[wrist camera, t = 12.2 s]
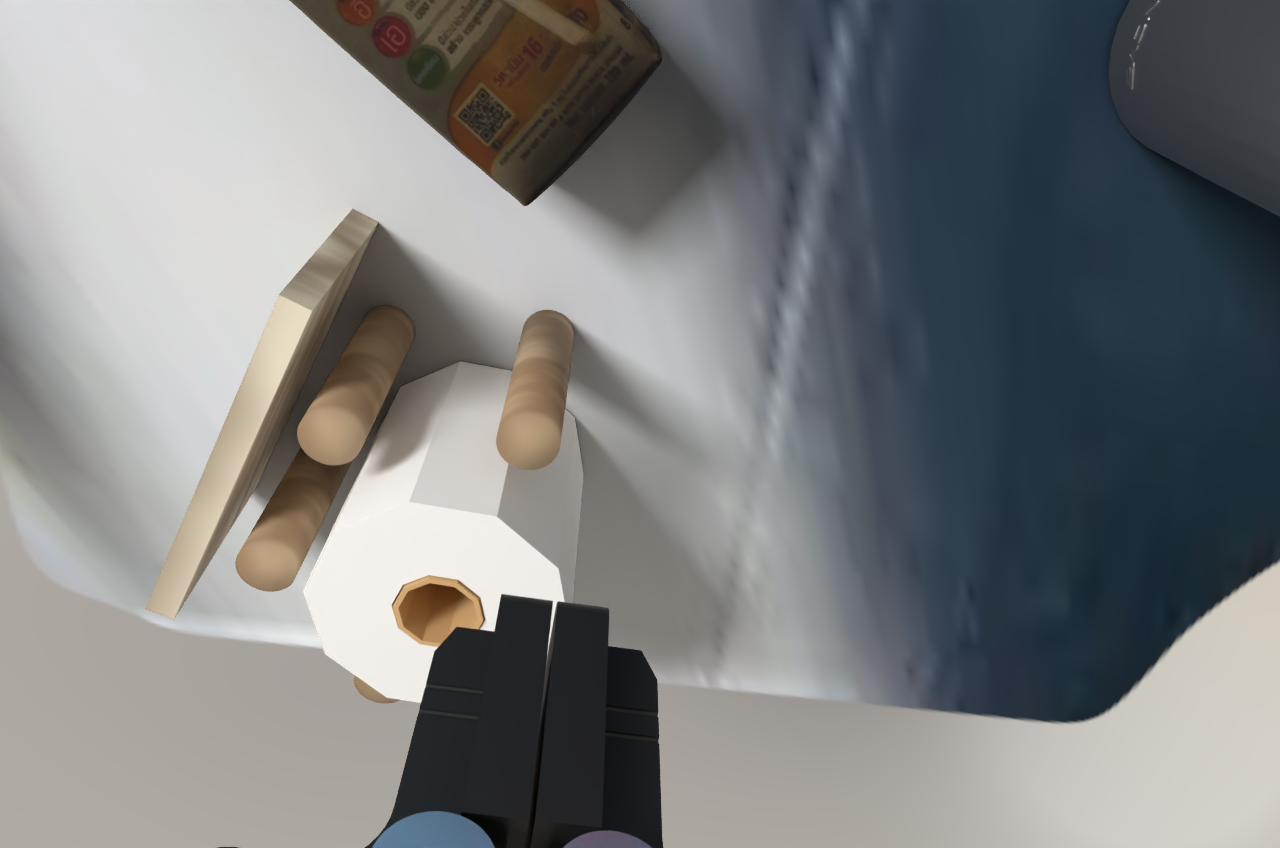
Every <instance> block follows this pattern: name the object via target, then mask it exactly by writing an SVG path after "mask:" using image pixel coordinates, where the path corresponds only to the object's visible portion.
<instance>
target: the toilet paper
mask: <svg viewBox="0 0 1280 848" xmlns="http://www.w3.org/2000/svg"><path fill="white" fill-rule="evenodd" d="M511 375H512V371H510V370H504V369H499V368H493V367H488V366H483V365H477V364H472V363H466V362H461V361H460V362H457V363H455V364H453V365H450V366H448V367H446V368H443V369H441V370H438V371H436V372H434V373H431V374H429V375H427V376H424V377H422V378H420V379H417V380H415V381H412V382H410V383H408V384H405V385H403V386H401V387H400V389H399V391H398V393H397V395H396V397H395V399H394V401H393V403H392V405H391V407H390V409H389V411H388V413H387V415H386V417H385V419H384V420H383V422H382V424H381V426H380V428H379V430H378V432H377V434H376V436H375V438H374V440H373V442H372V445H371V447H370V449H369V451H368V453H367V455H366V457H365V460H364V462H363V464H362V466H361V468H360V470H359V472H358V475H357V477H356V479H355V481H354V483H353V485H352V487H351V489H350V492H349V494H348V496H347V498H346V500H345V502H344V504H343V507H342V509H341V511H340V513H339V515H338V517H337V519H336V522H335V524H334V526H333V528H332V530H331V532H330V534H329V537H328V539H327V541H326V543H325V545H324V547H323V549H322V552H321V554H320V556H319V558H318V560H317V562H316V564H315V567H314V569H313V571H312V573H311V575H310V577H309V579H308V581H307V584H306V586H305V588H304V590H303V593H304V595H305V598H306V601H307V604H308V607H309V610H310V613H311V615H312V618H313V621H314V624H315V627H316V630H317V632H318V635H319V638H320V641H321V644H322V647H323V650H324V652H325V654H326V655H327V656H329V657H330V658H331V659H333V660H334V661H336V662H337V663H338V664H340V665H341V666H343V667H344V668H346V669H347V670H348V671H350V672H351V673H352V674H354V675H355V676H357V677H358V678H360V679H361V680H362V681H364V682H365V683H367V684H368V685H369V686H371V687H372V688H374V689H375V690H377V691H378V692H379V693H381V694H382V695H384V696H385V697H386V698H392V699H399V700H406V701H413V702H420V703H421V701H422V697H423V693H424V689H425V687H426V682H427V678H428V674H429V670H430V666H431V662H432V658H433V655H434V651H435V650H436V649H437V648H438V647H439V646H440V645H441V644H442V642H443V641H444V640H445V639H446V638H447V637H448V636H449V635H450V634H451V632H452V631H453V630H454V629H455V628H456V627H464V628H471V629H479V630H486V631H495V625H496V620H497V615H498V609H499V604H500V598H501V594H506V595H514V596H521V597H528V598H536V599H543V600H551V601H553V607H552V616H551V625H550V634H549V643H550V637H551V632H552V626H553V620H554V615H555V609H556V604H557V601H560V602H567V603H573V596H574V584H575V572H576V560H577V548H578V536H579V524H580V512H581V500H582V488H583V476H584V472H583V466H582V460H581V453H580V447H579V441H578V434H577V428H576V422H575V417H574V416H572V415H571V414H570V413H569V412H568V411H567V410H566V409H565V413H564V421H563V428H562V436H561V444H560V450H559V453H558V455H557V457H556V458H555V460H554V461H553V462H552V463H550V464H549V465H547V466H546V467H543V468H541V469H537V470H523V469H519V468H516V467H514V466H512V465H510V464H509V463H507V462H506V461H505V460H504V459H503V458H502V457H501V455H500V454H499V452H498V449H497V445H496V437H497V432H498V428H499V424H500V420H501V416H502V412H503V408H504V404H505V400H506V396H507V392H508V388H509V384H510V379H511ZM549 643H548V649H549ZM547 654H548V652H547Z"/></svg>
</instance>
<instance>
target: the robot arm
mask: <svg viewBox="0 0 1280 848" xmlns="http://www.w3.org/2000/svg"><path fill="white" fill-rule="evenodd" d="M1109 82H1110V90H1111V98H1112V100H1113V103H1114V106H1115V108H1116V111H1117V114H1118V116H1119V118H1120V120H1121V121H1122V123H1123V124H1124V125H1125V127H1126V128H1127V130H1128V131H1129V133H1130V134H1131V135H1132V136H1133V137H1134V138H1136V139H1137V140H1138V141H1139V142H1141V143H1142V144H1143V145H1144V146H1146V147H1147V148H1149V149H1151V150H1152V151H1154V152H1156V153H1158V154H1160V155H1162V156H1164V157H1166V158H1168V159H1170V160H1172V161H1174V162H1176V163H1178V164H1180V165H1182V166H1183V167H1185V168H1187V169H1189V170H1191V171H1192V172H1194V173H1196V174H1198V175H1200V176H1202V177H1204V178H1206V179H1207V180H1209V181H1211V182H1213V183H1215V184H1217V185H1219V186H1221V187H1223V188H1225V189H1227V190H1229V191H1231V192H1233V193H1235V194H1237V195H1239V196H1240V197H1242V198H1244V199H1246V200H1248V201H1250V202H1252V203H1254V204H1256V205H1258V206H1260V207H1262V208H1264V209H1266V210H1268V211H1270V212H1272V213H1273V214H1275V215H1277V216H1279V217H1280V0H1130V1H1129V3H1128V5H1127V7H1126V9H1125V11H1124V13H1123V15H1122V17H1121V19H1120V21H1119V23H1118V26H1117V30H1116V33H1115V37H1114V40H1113V43H1112V47H1111V53H1110V64H1109ZM552 607H553V601H551V600H543V599H536V598H528V597H521V596H514V595H506V594H501V598H500V604H499V609H498V615H497V620H496V625H495V631H486V630H479V629H471V628H464V627H456V628H455V629H454V630H453V631H452V632H451V634H450V635H449V636H448V637H447V638H446V639H445V640H444V641H443V642H442V644H441V645H440V646H439V647H438V648H437V649H436V650H435V651H434V655H433V658H432V662H431V666H430V670H429V674H428V678H427V682H426V687H425V689H424V693H423V697H422V701H421V705H420V710H419V714H418V717H417V720H416V724H415V728H414V732H413V736H412V740H411V744H410V748H409V752H408V755H407V759H406V763H405V767H404V771H403V775H402V779H401V783H400V787H399V791H398V795H397V798H396V802H395V806H394V809H393V812H392V815H391V818H390V819H389V821H388V823H387V825H386V826H385V828H384V829H383V830H382V832H381V833H380V834H379V836H378V837H377V838H376V839H374V840H373V841H372V842H371V843H370V844H369V845H368V846H366V847H365V848H663V842H662V819H661V788H660V757H659V743H658V739H659V724H658V717H657V715H658V690H657V679H656V677H655V675H654V673H653V671H652V669H651V668H650V666H649V664H648V662H647V660H646V658H645V656H644V655H643V653H642V651H640V650H633V649H625V648H618V647H610V646H608V631H609V609H608V608H604V607H597V606H589V605H582V604H574V603H567V602H560V601H557V604H556V609H555V615H554V620H553V626H552V632H551V637H550V643H549V634H550V625H551V616H552ZM548 643H549V649H548ZM547 652H548V654H547ZM219 848H237V847H219Z"/></svg>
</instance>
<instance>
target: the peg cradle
mask: <svg viewBox="0 0 1280 848" xmlns="http://www.w3.org/2000/svg"><path fill="white" fill-rule="evenodd" d="M377 224H378V222H377V221H375V220H373V219H371V218H369V217H367V216H365V215H363V214H361V213H359V212H357V211H356V210H354V209H352V210H351V211H350V213H349V214H348V215H347V216H346V217H345V218H344V220H343V221H342V222H341V223H340V224H339V225H338V227H337V228H336V229H335V230H334V231H333V232H332V234H331V235H330V236H329V237H328V238H327V239H326V241H325V242H324V243H323V244H322V245H321V246H320V248H319V249H318V250H317V251H316V252H315V253H314V255H313V256H312V257H311V258H310V259H309V260H308V262H307V263H306V264H305V265H304V266H303V267H302V269H301V270H300V271H299V272H298V273H297V274H296V276H295V277H294V278H293V279H292V280H291V281H290V283H289V284H288V285H287V286H286V287H285V288H284V289H283V291H282V292H281V293H280V294H279V296H278V298H277V301H276V303H275V305H274V308H273V310H272V312H271V315H270V317H269V319H268V322H267V324H266V326H265V329H264V331H263V333H262V336H261V338H260V341H259V343H258V345H257V348H256V350H255V352H254V355H253V357H252V359H251V362H250V364H249V366H248V369H247V371H246V373H245V376H244V378H243V380H242V383H241V385H240V387H239V390H238V392H237V394H236V397H235V399H234V402H233V404H232V406H231V409H230V411H229V413H228V416H227V418H226V420H225V423H224V425H223V427H222V430H221V432H220V434H219V437H218V439H217V441H216V444H215V446H214V448H213V451H212V453H211V455H210V458H209V460H208V462H207V465H206V467H205V470H204V472H203V474H202V477H201V479H200V481H199V484H198V486H197V488H196V491H195V493H194V495H193V498H192V500H191V502H190V505H189V507H188V509H187V512H186V514H185V516H184V519H183V521H182V523H181V526H180V528H179V530H178V533H177V535H176V538H175V540H174V542H173V545H172V547H171V549H170V552H169V554H168V556H167V559H166V561H165V563H164V566H163V568H162V570H161V573H160V575H159V577H158V580H157V582H156V584H155V587H154V589H153V591H152V594H151V596H150V599H149V601H148V603H147V606H146V608H145V609H147V610H150V611H152V612H155V613H157V614H160V615H162V616H165V617H168V618H170V619H173V620H174V619H175V617H176V615H177V614H178V612H179V611H180V609H181V607H182V606H183V604H184V603H185V601H186V599H187V598H188V596H189V595H190V593H191V591H192V590H193V588H194V587H195V585H196V583H197V582H198V580H199V579H200V577H201V575H202V574H203V572H204V571H205V569H206V567H207V566H208V564H209V562H210V561H211V559H212V558H213V556H214V554H215V553H216V551H217V550H218V548H219V546H220V545H221V543H222V542H223V540H224V538H225V537H226V535H227V534H228V532H229V530H230V529H231V527H232V526H233V524H234V522H235V521H236V519H237V517H238V516H239V514H240V513H241V511H242V509H243V508H244V506H245V505H246V503H247V501H248V500H249V498H250V497H251V495H252V493H253V492H254V490H255V489H256V486H257V484H258V482H259V480H260V478H261V476H262V473H263V471H264V469H265V467H266V465H267V463H268V460H269V458H270V456H271V454H272V452H273V450H274V447H275V445H276V443H277V441H278V439H279V437H280V434H281V432H282V430H283V428H284V426H285V424H286V421H287V419H288V417H289V415H290V413H291V411H292V408H293V406H294V404H295V402H296V400H297V398H298V395H299V393H300V391H301V389H302V387H303V385H304V382H305V380H306V378H307V376H308V374H309V372H310V370H311V367H312V365H313V363H314V361H315V359H316V357H317V354H318V352H319V350H320V348H321V346H322V344H323V341H324V339H325V337H326V335H327V333H328V331H329V328H330V326H331V324H332V322H333V320H334V318H335V315H336V313H337V311H338V309H339V307H340V305H341V302H342V300H343V298H344V296H345V294H346V292H347V289H348V287H349V285H350V283H351V281H352V279H353V276H354V274H355V272H356V270H357V268H358V266H359V263H360V261H361V259H362V257H363V255H364V253H365V250H366V248H367V246H368V244H369V242H370V240H371V237H372V235H373V233H374V231H375V229H376V227H377ZM414 337H415V328H414V324H413V322H412V320H411V319H410V317H409V316H408V315H407V314H406V313H405V312H404V311H402V310H400V309H398V308H396V307H393V306H378V307H376V308H374V309H372V310H370V311H369V312H368V313H367V315H366V316H365V318H364V319H363V321H362V323H361V324H360V326H359V327H358V329H357V331H356V332H355V334H354V336H353V337H352V339H351V340H350V342H349V344H348V345H347V347H346V349H345V350H344V352H343V353H342V355H341V357H340V358H339V360H338V362H337V363H336V365H335V366H334V368H333V370H332V371H331V373H330V374H329V376H328V378H327V379H326V381H325V383H324V384H323V386H322V387H321V389H320V391H319V392H318V394H317V396H316V397H315V399H314V400H313V402H312V404H311V405H310V407H309V409H308V410H307V412H306V413H305V415H304V417H303V418H302V420H301V422H300V423H299V426H298V429H297V438H298V442H299V444H300V446H301V448H300V450H299V452H298V453H297V455H296V457H295V458H294V460H293V462H292V463H291V465H290V467H289V469H288V470H287V472H286V474H285V475H284V477H283V479H282V480H281V482H280V484H279V486H278V487H277V489H276V491H275V492H274V494H273V496H272V497H271V499H270V501H269V503H268V504H267V506H266V508H265V509H264V511H263V513H262V514H261V516H260V518H259V520H258V521H257V523H256V525H255V526H254V528H253V530H252V532H251V533H250V535H249V537H248V538H247V540H246V542H245V543H244V545H243V547H242V549H241V550H240V552H239V554H238V555H237V558H236V569H237V572H238V574H239V576H240V577H241V578H242V579H243V580H244V581H245V582H246V583H247V584H249V585H250V586H252V587H254V588H256V589H259V590H263V591H279V590H283V589H285V588H287V587H288V586H290V585H291V584H292V583H293V581H294V579H295V577H296V575H297V573H298V571H299V569H300V567H301V565H302V563H303V561H304V559H305V557H306V555H307V553H308V551H309V548H310V546H311V544H312V542H313V540H314V538H315V536H316V534H317V532H318V530H319V528H320V526H321V524H322V522H323V520H324V518H325V516H326V513H327V511H328V509H329V507H330V505H331V503H332V501H333V499H334V497H335V495H336V493H337V491H338V489H339V487H340V485H341V483H342V480H343V478H344V476H345V474H346V472H347V470H348V468H349V466H350V464H351V462H352V460H353V459H355V458H356V457H357V456H358V454H359V453H360V451H361V449H362V447H363V444H364V442H365V440H366V438H367V436H368V434H369V432H370V430H371V428H372V426H373V424H374V421H375V419H376V417H377V415H378V413H379V411H380V409H381V407H382V405H383V403H384V401H385V399H386V396H387V394H388V392H389V390H390V388H391V386H392V384H393V382H394V380H395V378H396V376H397V373H398V371H399V369H400V367H401V365H402V363H403V361H404V359H405V357H406V355H407V353H408V350H409V348H410V346H411V344H412V342H413V340H414ZM573 342H574V329H573V326H572V324H571V322H570V321H569V320H568V319H567V318H566V317H565V316H564V315H562V314H561V313H559V312H556V311H552V310H543V311H539V312H536V313H534V314H533V315H531V316H530V317H529V318H528V319H527V321H526V322H525V324H524V327H523V331H522V335H521V339H520V343H519V347H518V351H517V355H516V359H515V363H514V367H513V371H512V375H511V379H510V384H509V388H508V392H507V396H506V400H505V404H504V408H503V412H502V416H501V420H500V424H499V428H498V432H497V437H496V445H497V449H498V452H499V454H500V455H501V457H502V458H503V459H504V460H505V461H506V462H507V463H509V464H510V465H512V466H514V467H516V468H519V469H523V470H537V469H541V468H543V467H546V466H547V465H549V464H550V463H552V462H553V461H554V460H555V458H556V457H557V455H558V453H559V450H560V444H561V436H562V428H563V421H564V413H565V405H566V397H567V389H568V381H569V374H570V366H571V358H572V350H573ZM354 683H355V687H356V688H357V690H358V692H359V693H360V694H361V695H362V696H364V697H365V698H367V699H369V700H371V701H374V702H378V703H393V702H396V701H399V699H392V698H386V697H385V696H384V695H382V694H381V693H379V692H378V691H377V690H375V689H374V688H372V687H371V686H369V685H368V684H367V683H365V682H364V681H362V680H361V679H360V678H358V677H357V676H355V678H354Z"/></svg>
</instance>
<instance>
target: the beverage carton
mask: <svg viewBox="0 0 1280 848" xmlns="http://www.w3.org/2000/svg"><path fill="white" fill-rule="evenodd" d="M290 1H291V2H292V3H293V4H294V5H295V6H297V7H298V8H299V9H300V10H301V11H302V12H303V13H304V14H305V15H307V16H308V17H309V18H310V19H311V20H312V21H313V22H314V23H315V24H316V25H317V26H318V27H319V28H321V29H322V30H323V31H324V32H325V33H326V34H327V35H328V36H330V37H331V38H332V39H333V40H334V41H335V42H336V43H337V44H338V45H340V46H341V47H342V48H343V49H344V50H345V51H346V52H347V53H349V54H350V55H351V56H352V57H353V58H354V59H355V60H356V61H358V62H359V63H360V64H361V65H362V66H363V67H364V68H365V69H367V70H368V71H369V72H370V73H371V74H372V75H373V76H374V77H376V78H377V79H378V80H379V81H380V82H381V83H382V84H383V85H385V86H386V87H387V88H388V89H389V90H390V91H391V92H392V93H394V94H395V95H396V96H397V97H398V98H399V99H400V100H402V101H403V102H404V103H405V104H406V105H407V106H408V107H410V108H411V109H412V110H413V111H414V112H415V113H417V114H418V115H419V116H420V117H421V118H422V119H423V120H425V121H426V122H427V123H428V124H429V125H430V126H431V127H433V128H434V129H435V130H436V131H437V132H438V133H439V134H441V135H442V136H443V137H444V138H445V139H446V140H447V141H448V142H450V143H451V144H452V145H453V146H454V147H455V148H456V149H457V150H458V151H460V152H461V153H462V154H463V155H464V156H465V157H467V158H468V159H469V160H471V161H472V162H473V163H474V164H476V165H477V166H478V167H479V168H480V169H481V170H483V171H484V172H485V173H486V174H487V175H488V176H489V177H491V178H492V179H493V180H494V181H495V182H496V183H498V184H499V185H500V186H501V187H502V188H503V189H505V190H506V191H507V192H509V193H510V194H511V195H512V196H513V197H515V198H516V199H517V200H518V201H519V202H520V203H521V204H522V205H524V206H527V205H529V204H530V203H531V202H533V201H534V200H535V199H536V198H537V197H538V196H539V195H541V194H542V193H543V192H544V191H545V190H546V189H547V188H548V187H549V186H551V185H552V184H553V183H554V182H555V181H556V180H557V179H558V178H559V177H560V176H561V175H562V174H563V173H564V172H565V171H566V170H567V169H568V168H569V167H570V166H571V165H572V164H573V163H574V162H575V161H576V160H577V159H579V158H580V157H581V156H582V155H583V153H584V152H585V151H586V150H587V149H588V148H589V147H590V146H591V145H592V144H593V143H594V142H595V140H596V139H597V138H598V137H599V136H600V135H601V134H602V133H603V132H604V131H605V130H606V129H607V127H608V126H609V125H610V124H611V123H612V122H613V121H614V120H615V118H616V117H617V116H618V115H619V114H620V113H621V112H622V110H623V109H624V108H625V107H626V106H627V105H628V103H629V102H630V101H631V100H632V98H633V97H634V96H635V95H636V93H637V92H638V91H639V90H640V88H641V87H642V86H643V85H644V83H645V82H646V81H647V80H648V78H649V77H650V76H651V75H652V73H653V72H654V71H655V70H656V68H657V67H658V66H659V64H660V63H661V61H662V57H661V51H660V48H659V46H658V44H657V42H656V40H655V38H654V37H653V36H652V34H651V33H650V31H649V30H648V29H647V28H646V27H645V26H644V25H643V24H642V23H641V21H640V20H639V19H638V18H637V17H636V16H635V15H634V13H633V12H632V11H631V10H630V9H629V8H628V7H627V6H626V5H625V4H624V3H623V2H622V1H621V0H290Z"/></svg>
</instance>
